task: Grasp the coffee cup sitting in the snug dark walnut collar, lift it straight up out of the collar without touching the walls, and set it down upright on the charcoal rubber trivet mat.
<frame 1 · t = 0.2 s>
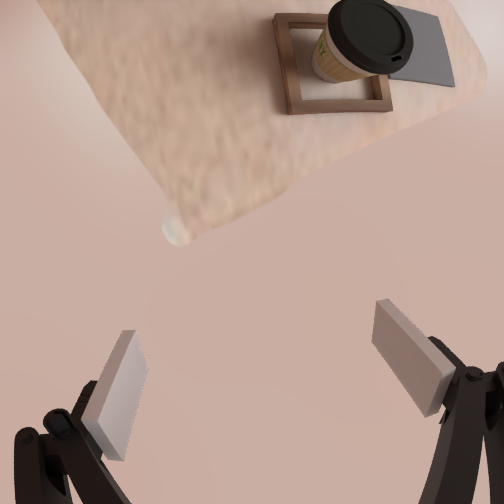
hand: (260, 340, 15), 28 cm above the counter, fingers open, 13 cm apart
trivet mat: (414, 44, 35), on the counter
walnut collar: (331, 63, 36), on the counter
coffee cup: (331, 64, 36), resting in walnut collar
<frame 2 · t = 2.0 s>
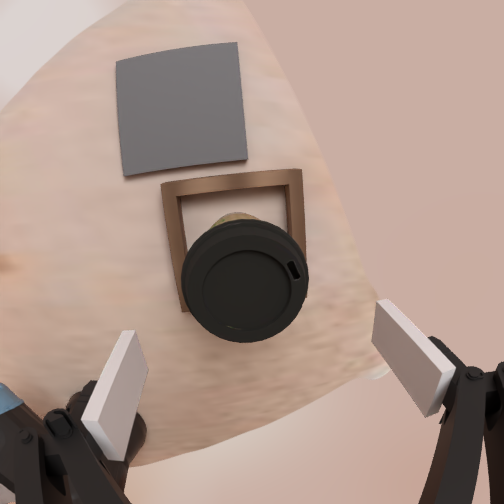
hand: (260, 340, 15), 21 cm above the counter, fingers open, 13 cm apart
trivet mat: (179, 106, 30), on the counter
walnut collar: (237, 238, 36), on the counter
coffee cup: (237, 237, 36), resting in walnut collar
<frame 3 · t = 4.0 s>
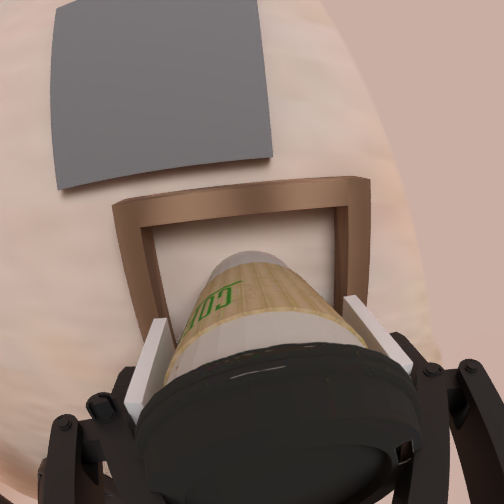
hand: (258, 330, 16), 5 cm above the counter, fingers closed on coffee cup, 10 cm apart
trivet mat: (150, 66, 16), on the counter
walnut collar: (251, 293, 21), on the counter
coffee cup: (251, 292, 21), resting in walnut collar, touching gripper
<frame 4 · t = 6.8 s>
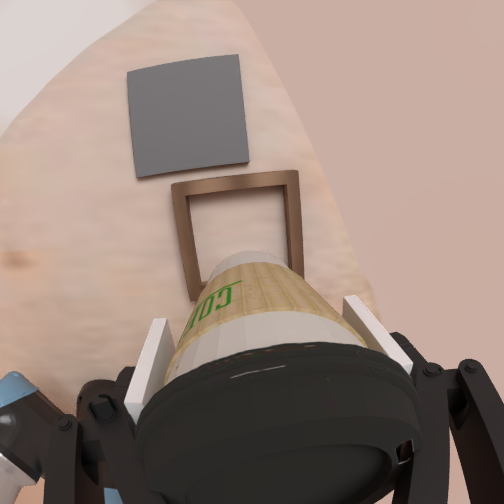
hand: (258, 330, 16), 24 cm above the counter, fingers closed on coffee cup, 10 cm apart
trivet mat: (186, 113, 34), on the counter
walnut collar: (240, 233, 39), on the counter
coffee cup: (251, 292, 21), point 19 cm above the counter, touching gripper
when the fingers open (7 cm above the counter, at t = 10.2 s): coffee cup drops 1 cm, resting on trivet mat.
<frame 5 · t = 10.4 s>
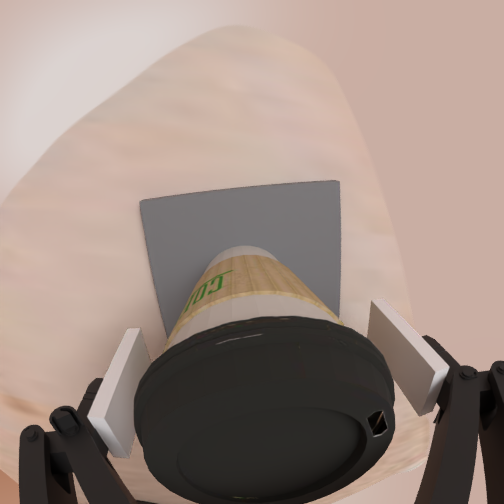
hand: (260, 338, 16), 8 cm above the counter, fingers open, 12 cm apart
trivet mat: (248, 279, 23), on the counter
coffee cup: (244, 284, 22), point 1 cm above the counter, touching trivet mat
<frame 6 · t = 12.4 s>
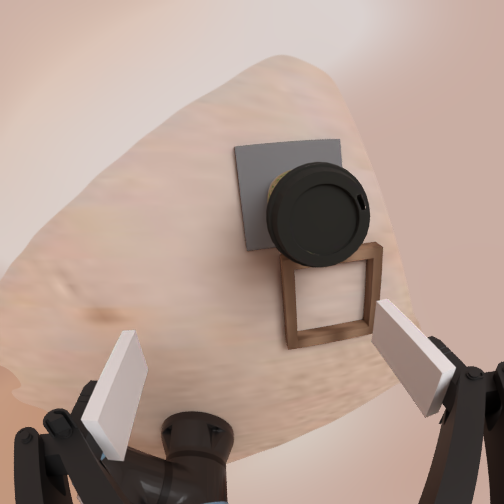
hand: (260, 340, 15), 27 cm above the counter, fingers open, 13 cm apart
trivet mat: (292, 193, 40), on the counter
walnut collar: (330, 293, 46), on the counter
coffee cup: (290, 194, 40), point 1 cm above the counter, touching trivet mat
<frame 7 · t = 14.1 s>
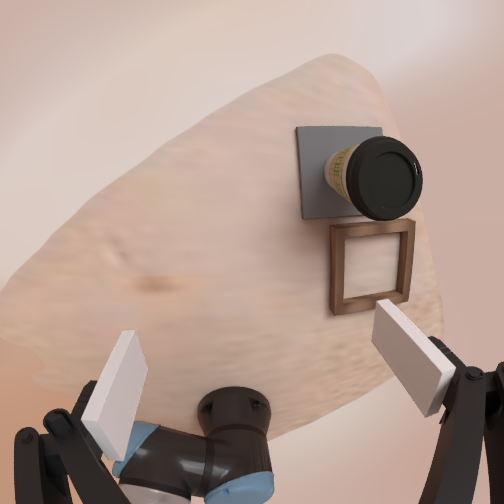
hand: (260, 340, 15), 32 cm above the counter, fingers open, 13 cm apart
trivet mat: (342, 170, 45), on the counter
walnut collar: (370, 263, 50), on the counter
coffee cup: (342, 171, 44), point 1 cm above the counter, touching trivet mat
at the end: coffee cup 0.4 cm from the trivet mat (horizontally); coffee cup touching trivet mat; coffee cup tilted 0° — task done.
